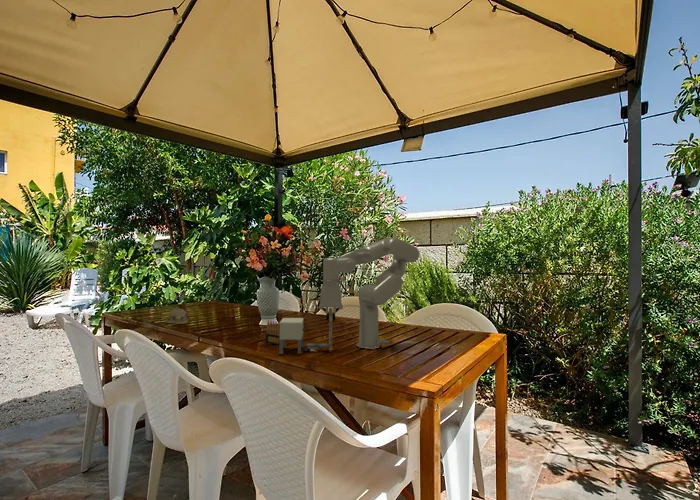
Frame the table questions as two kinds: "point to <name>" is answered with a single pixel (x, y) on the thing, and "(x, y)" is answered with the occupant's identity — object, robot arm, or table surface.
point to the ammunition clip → (273, 333)
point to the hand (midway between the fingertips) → (330, 321)
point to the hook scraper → (329, 336)
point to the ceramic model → (177, 316)
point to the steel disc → (312, 349)
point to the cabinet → (291, 332)
